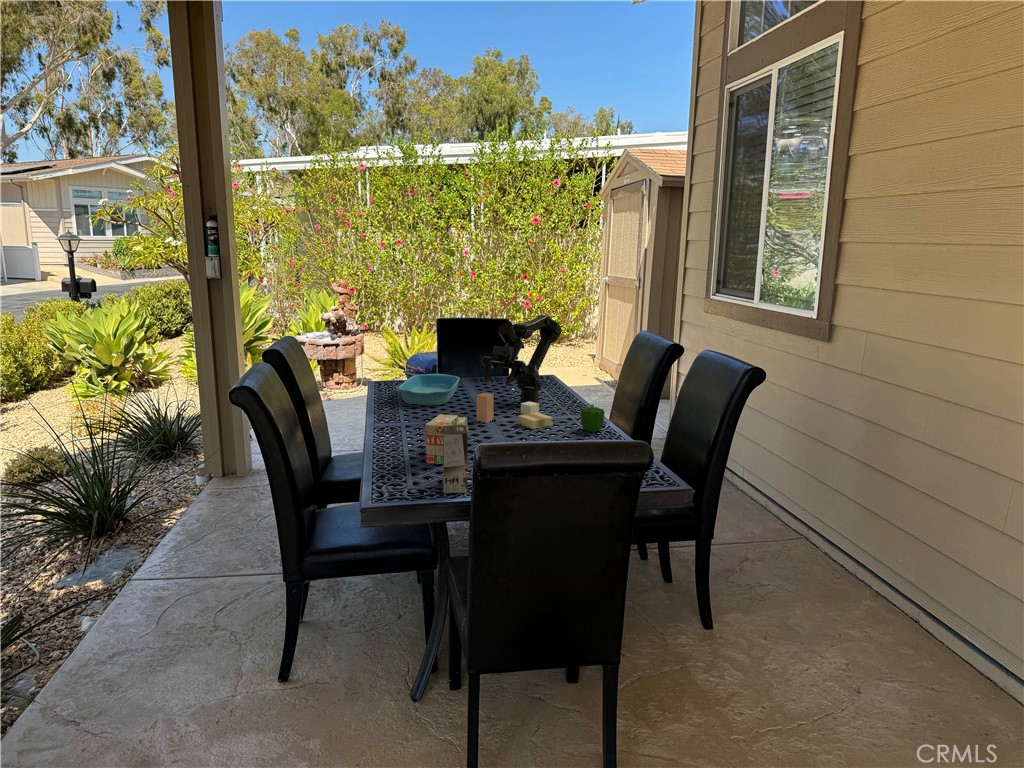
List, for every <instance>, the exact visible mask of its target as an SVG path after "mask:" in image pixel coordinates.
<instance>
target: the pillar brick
mask: <svg viewBox="0 0 1024 768" xmlns="http://www.w3.org/2000/svg"><path fill="white" fill-rule="evenodd" d="M494 397H495V396H494V393H488V392H482V393H478V394H476V422H478V421H481V422H480V423H483V422H485V423H484V424H488V423H491V422H493V421H494V400H495V399H494ZM492 420H493V421H492ZM490 421H491V422H490Z"/></svg>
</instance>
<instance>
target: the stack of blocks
mask: <svg viewBox="0 0 1024 768" xmlns="http://www.w3.org/2000/svg"><path fill="white" fill-rule="evenodd" d="M451 425H466V428H467V433H469V430H468V429H469V427H468V417H464V416H463V417H460V416H459V415H455V414H441V413H440V414H438V415H437V416H436V417H434V418H433V419H431V421H429V422H427V423H426V424H425V463H426V464H429V465H438V464H443V426H451ZM468 437H469V436H468ZM468 437H467V444H468V443H469V442H468V439H469V438H468ZM468 445H469V444H468Z"/></svg>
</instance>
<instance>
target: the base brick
mask: <svg viewBox="0 0 1024 768" xmlns="http://www.w3.org/2000/svg"><path fill="white" fill-rule="evenodd" d="M553 423H554V417H552V416H549V415H547V414H544V413H541V412H540V411H539V412H537V413H531V414H520V415H519V414H518V418H517V424H518V425H520V424H521V426H523V427H525V426H526V427H525V428H528V427H529V428H528V429H530V428H531V429H530V430H537V429H536V428H539V429H543V428H542V427H544V428H548V426H550V427H553V426H554V424H553Z"/></svg>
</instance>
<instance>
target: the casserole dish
mask: <svg viewBox="0 0 1024 768" xmlns="http://www.w3.org/2000/svg"><path fill="white" fill-rule="evenodd" d="M459 382H460V377H459V376H456V375H451V374H444V373H427V374H426V373H424V374H413V375H411V376H410V377H409V378H407V379H406V380H405V381H404V382H403V383H401V384H400V385H399V386H398V390H399V392H400V396H401V398H402V400H403V402H404V403H406V404H407V403H408V404H407V405H412V404H417V405H416V406H441V404H442V405H445V404H447V402H449V401H450V399H451V398H452V397H453V395H455V392H456V391H457V388H458V387H459Z"/></svg>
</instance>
